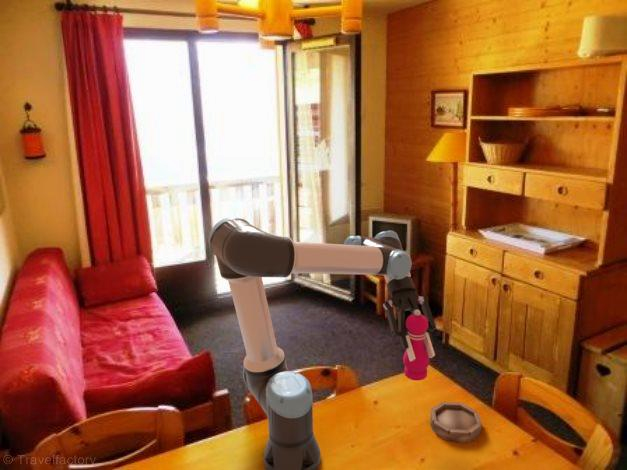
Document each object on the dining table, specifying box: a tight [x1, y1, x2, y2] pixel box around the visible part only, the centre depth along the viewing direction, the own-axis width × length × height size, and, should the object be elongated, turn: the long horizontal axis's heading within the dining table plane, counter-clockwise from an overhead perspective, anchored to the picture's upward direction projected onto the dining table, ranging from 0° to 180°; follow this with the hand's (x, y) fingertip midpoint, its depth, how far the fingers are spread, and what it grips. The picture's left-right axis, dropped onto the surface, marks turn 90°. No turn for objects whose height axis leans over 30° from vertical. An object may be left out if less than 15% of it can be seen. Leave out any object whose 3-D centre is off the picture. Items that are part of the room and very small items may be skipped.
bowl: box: [429, 401, 483, 444], centre depth 135 cm, size 14×14×3 cm
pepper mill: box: [402, 309, 430, 381], centre depth 129 cm, size 7×7×20 cm
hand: (422, 358), depth 126 cm, fingers closed on pepper mill, 5 cm apart
